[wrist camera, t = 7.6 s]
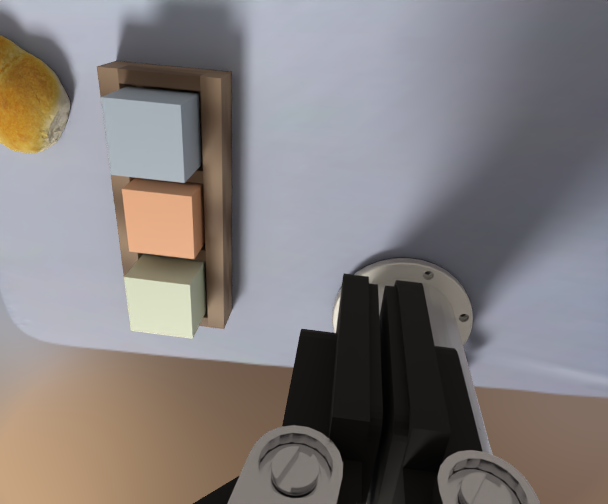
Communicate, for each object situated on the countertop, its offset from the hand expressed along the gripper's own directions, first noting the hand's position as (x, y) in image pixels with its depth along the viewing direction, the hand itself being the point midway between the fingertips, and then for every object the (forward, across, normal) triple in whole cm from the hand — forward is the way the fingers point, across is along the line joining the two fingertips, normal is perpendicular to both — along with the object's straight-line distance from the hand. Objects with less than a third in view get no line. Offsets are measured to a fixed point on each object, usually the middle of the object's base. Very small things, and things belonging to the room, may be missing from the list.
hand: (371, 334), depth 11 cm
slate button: (+27, +15, +4) cm, 31 cm away
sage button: (+27, +15, +18) cm, 35 cm away
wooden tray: (+29, +15, +11) cm, 34 cm away
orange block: (+28, +15, +11) cm, 33 cm away
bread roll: (+30, +28, +3) cm, 41 cm away
